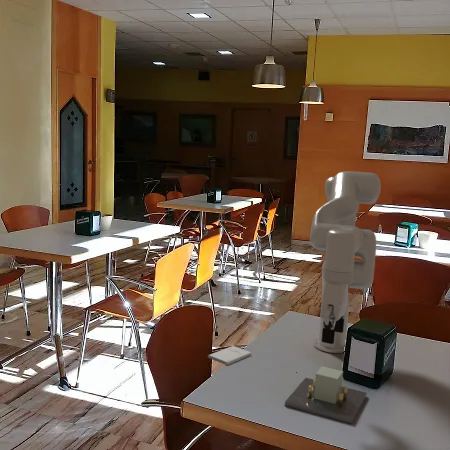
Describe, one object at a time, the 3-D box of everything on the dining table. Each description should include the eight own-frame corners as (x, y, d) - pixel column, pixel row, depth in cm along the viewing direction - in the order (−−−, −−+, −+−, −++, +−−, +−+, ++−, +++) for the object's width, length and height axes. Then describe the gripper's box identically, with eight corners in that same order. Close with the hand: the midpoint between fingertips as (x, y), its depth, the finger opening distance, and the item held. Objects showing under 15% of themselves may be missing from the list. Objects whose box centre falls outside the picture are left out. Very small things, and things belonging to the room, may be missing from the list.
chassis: (305, 381, 160) (306, 368, 159) (366, 396, 152) (367, 382, 151) (284, 405, 144) (285, 390, 143) (351, 424, 136) (353, 408, 135)
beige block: (319, 389, 152) (321, 366, 151) (340, 395, 149) (343, 371, 148) (313, 398, 147) (315, 373, 146) (335, 403, 144) (337, 379, 143)
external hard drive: (207, 359, 174) (232, 349, 183) (227, 367, 168) (251, 356, 178) (207, 354, 173) (232, 345, 183) (227, 362, 168) (251, 352, 178)
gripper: (332, 267, 152) (327, 325, 155) (314, 280, 137) (309, 344, 140) (359, 271, 149) (353, 330, 152) (344, 285, 134) (338, 350, 136)
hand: (332, 337), depth 146 cm, fingers open, 9 cm apart
